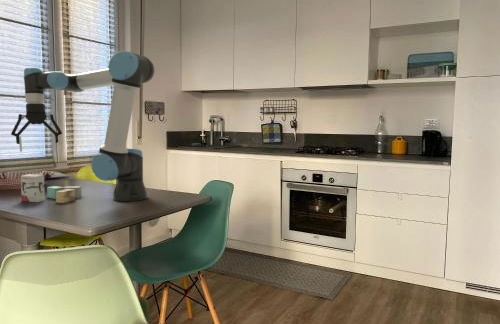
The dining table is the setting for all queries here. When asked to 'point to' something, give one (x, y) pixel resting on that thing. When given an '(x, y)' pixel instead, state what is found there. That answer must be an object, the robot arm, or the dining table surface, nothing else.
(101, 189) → the dining table surface
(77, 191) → the brick grey
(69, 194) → the brick oak
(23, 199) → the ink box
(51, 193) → the brick teal
